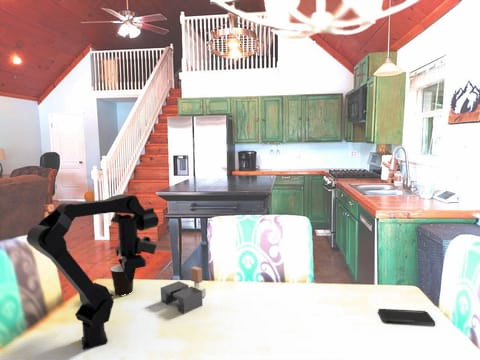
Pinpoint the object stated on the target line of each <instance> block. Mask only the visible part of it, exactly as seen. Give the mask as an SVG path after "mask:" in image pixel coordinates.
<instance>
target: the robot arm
mask: <svg viewBox="0 0 480 360" xmlns="http://www.w3.org/2000/svg"><path fill="white" fill-rule="evenodd" d="M110 213H115V216H114V217H112V219H110V222H111V223H117V230H118V232H117V233H118V236H117V241H118V245H117V246H115V248H114V254H115V256H116V257H118V256H120V258H119V259H118V262H119V265H121V267H122V269H123V271H124V273H125V275H126V277H127V279H128V281H129V283H131V282H133V283H134V278H135V274H136V269H140V268H145V267H146V266H147V262H146V261H147V260H146V258H145V257H144V256H142V255H141V254H142V252H143V253H147V254H150V255H155V253H156V250H157V247H158V245H157V243H156V242H154V241H153V240H151V238H150V237H149V236H146V235H145V236H144V237H142V238H141V237H139V235H138V233H139V232H142V231H146V230H149V229H153V228H157V226H158V225H159V220H160V219H159V217H158V214H157V212H155V209H154V207H146V208H144V207H143V206H142V204H141V202H140V200H139V198H138V197H137V196H136V195H134V194H133V195H132V194H123V193H122V194H121V193H120V194H115V195H113V196H110V197H108V198H105V199H98V200H87V201H79V202H71V203H68V202H67V203H66V202H63V203H60V204H59V205H58V206H57V207H56V208H54V210H53V211H51V212H50V213H49V214H48V215H47V216H45V217H43V218H42V219H41V220H40V221H39V222H38V224H36V225H35V226H33V227H31V229H29V230H28V232H27V235H26V241H27V243H28V245H29V246H31V247H32V248H33V249H35V250H36V252H37V251H38V252H39V253H40V254H42V255H43V256H45V257H46V258H48V259H49V260H50V261H51V262H52V263H53V264H54V265H55V266H56V268H57V269H58V270H59V271H60V272H61V273H62V275H63V276H64V277H65V278H66V280H67V281H68V282H69V283H70V284H71V285H72V287H73V288H74V289H75V290H76V291H77V293H78V295H79V300H80V302H81V305H80V307H79V308H78V310H77V311H76V313H75V314H74V315H75V318H76V320H78V321H80V322H81V323H82V336H81V344H82V345H81V346H82V349H83V350H86V349H85V348H87V349H90V348H93V346H94V347H97V345H98V346H101V345H104V343H105V344H107V343H108V342H109V340H108V337H107V333H106V331H105V329H106V328H105V324H107V322H109V321H110V319H111V314H112V313H111V312H112V309H113V306H114V303H115V301H114V298H113V297H114V294H112V293H111V292H110V291H109V289H108V287H107V286H105V285H104V284H103V285H102V284H100V283H97V282H93V281H92V279H91V278H90V277H89V276H88V274H87V273H86V272H85V270H83V269H82V267H81V266H80V264H78V262H77V261H76V260H75V258H74V257H73V256H72V255H71V253H70V252H69V250H68V245H67V242H66V239H65V237H64V236H66V234H67V233H68V232H69V230H70V228H71V226H72V223H73V222H74V220H75V219H76V218H81V217H89V216H95V215H102V214H110ZM122 214H123V215H122ZM138 231H139V232H138ZM106 342H107V343H106ZM100 344H101V345H100ZM89 347H90V348H89Z"/></svg>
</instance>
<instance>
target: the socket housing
mask: <svg viewBox="0 0 480 360" xmlns="http://www.w3.org/2000/svg"><path fill="white" fill-rule="evenodd" d="M160 301H161V303H162V302H163V304H164V303H165V305H166V304H167V305H169V304H172V303H174V302H176V301H177V311H178V312H180V313H182V314H183V313H184V314H185V315H186V314H187V313H189V312H191V311H194V310H195V309H198V308H200V307H202V306H203V304H204V303H203V298H202V291H201V290H199V289H196V288H194V287H193V286H189V284H187V283H184V282H182V281H175V282H173V283H169V284H166V285H165V286H161V287H160ZM173 301H174V302H173ZM171 302H172V303H171ZM168 303H169V304H168ZM186 312H187V313H186Z"/></svg>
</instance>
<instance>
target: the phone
mask: <svg viewBox="0 0 480 360" xmlns="http://www.w3.org/2000/svg"><path fill="white" fill-rule="evenodd" d="M377 312H378V315H379V317H380V318H381V320H382V321H381V322H383V323H386V324H397V325H398V324H402V325H416V326H417V325H418V326H435V325H436V321H435V320H434V319H433V317H432V316H431V315H430V314H429V312H428V311H426V310H413V309H398V308H397V309H392V308H378V310H377Z"/></svg>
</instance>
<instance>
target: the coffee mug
mask: <svg viewBox="0 0 480 360" xmlns="http://www.w3.org/2000/svg"><path fill="white" fill-rule="evenodd" d="M110 272H111V278H112V279H111V280H112V282H113V284H112V285H113V291H114V293H115V294H117V295H124V294H129V293H131V292H132V291H133V290H134V281H133V282H131V283H129V281H128V279H127V277H126V275H125V273H124V271H123V269H122V267H121V265H120V264H117V265H114V266H112V267H111V268H110ZM133 292H134V291H133ZM133 292H132V293H133ZM132 293H131V294H132ZM115 294H114V295H115ZM117 295H116V296H117ZM129 295H130V294H129Z"/></svg>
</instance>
